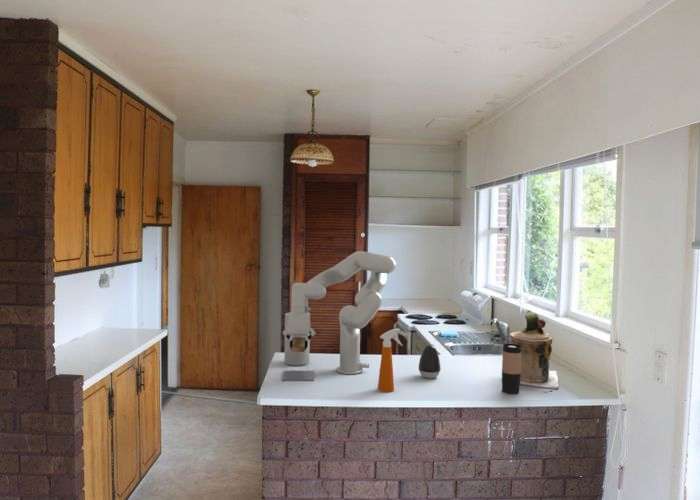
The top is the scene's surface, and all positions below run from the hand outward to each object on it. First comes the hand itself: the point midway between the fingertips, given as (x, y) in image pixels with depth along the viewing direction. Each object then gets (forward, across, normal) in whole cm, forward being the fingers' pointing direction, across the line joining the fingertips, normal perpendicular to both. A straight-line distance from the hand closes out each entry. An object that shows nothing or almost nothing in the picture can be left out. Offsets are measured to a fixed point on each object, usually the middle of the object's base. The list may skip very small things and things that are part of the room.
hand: (298, 348), depth 238 cm
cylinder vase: (+13, +2, -23) cm, 27 cm away
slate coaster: (+13, 0, 0) cm, 13 cm away
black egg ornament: (+13, -61, 0) cm, 63 cm away
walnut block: (+1, 0, 0) cm, 1 cm away
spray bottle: (+13, -40, +19) cm, 46 cm away
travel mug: (+12, -92, +21) cm, 95 cm away
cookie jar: (+12, -108, +2) cm, 109 cm away
